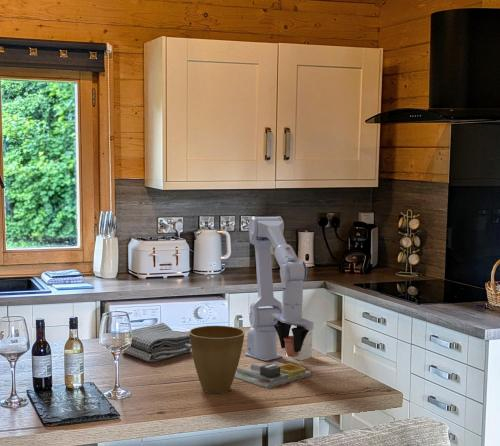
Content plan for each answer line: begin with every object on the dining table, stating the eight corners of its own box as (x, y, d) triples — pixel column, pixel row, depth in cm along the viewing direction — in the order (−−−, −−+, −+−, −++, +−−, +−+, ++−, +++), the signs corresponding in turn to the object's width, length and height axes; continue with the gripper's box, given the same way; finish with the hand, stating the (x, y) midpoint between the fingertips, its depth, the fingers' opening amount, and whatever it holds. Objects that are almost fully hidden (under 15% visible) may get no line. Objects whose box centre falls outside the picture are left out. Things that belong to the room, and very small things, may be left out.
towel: (118, 354, 236) (118, 330, 236) (163, 344, 250) (163, 321, 249) (150, 365, 226) (150, 339, 225) (194, 353, 240) (195, 329, 239)
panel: (232, 376, 216) (232, 368, 216) (275, 364, 229) (275, 356, 228) (267, 388, 206) (268, 379, 206) (310, 375, 219) (310, 367, 218)
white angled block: (319, 346, 241) (312, 325, 237) (303, 367, 235) (295, 346, 231) (310, 344, 244) (303, 323, 239) (294, 365, 237) (286, 344, 233)
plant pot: (254, 390, 204) (256, 332, 203) (212, 402, 194) (214, 341, 192) (218, 377, 215) (219, 322, 213) (177, 387, 205) (178, 329, 203)
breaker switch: (260, 377, 212) (260, 365, 212) (269, 374, 215) (270, 362, 215) (270, 380, 209) (270, 368, 209) (280, 377, 212) (280, 365, 212)
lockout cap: (280, 355, 217) (280, 338, 217) (291, 351, 220) (291, 335, 220) (292, 358, 214) (292, 340, 213) (303, 354, 217) (302, 337, 216)
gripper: (264, 300, 218) (263, 346, 219) (302, 309, 208) (300, 357, 209) (280, 297, 223) (279, 342, 224) (318, 305, 212) (317, 353, 214)
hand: (290, 349), depth 217 cm, fingers closed on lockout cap, 4 cm apart
